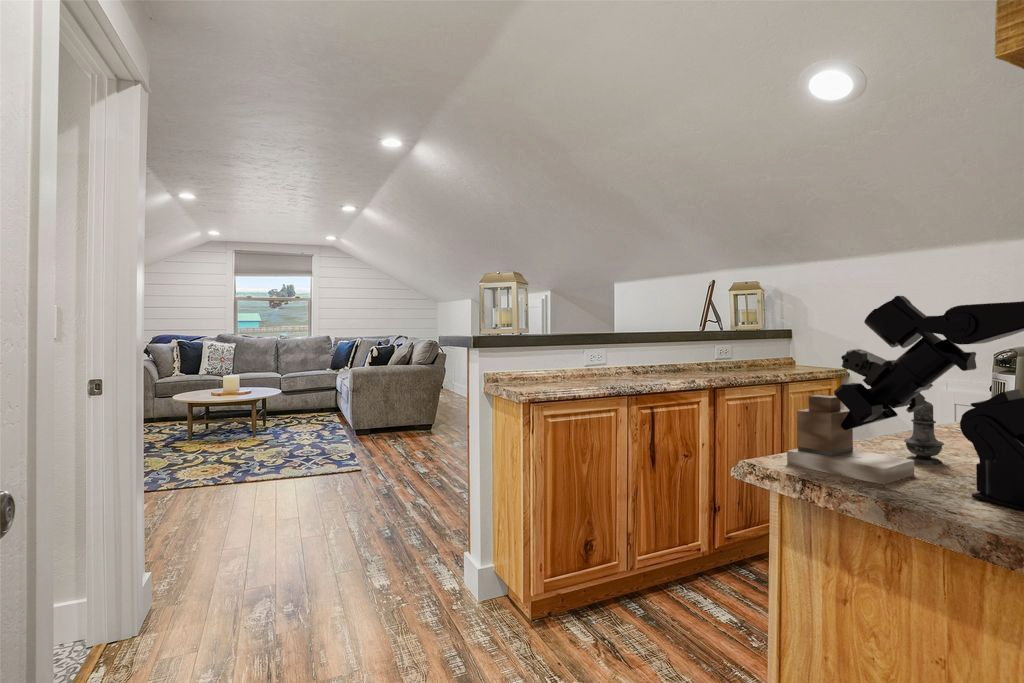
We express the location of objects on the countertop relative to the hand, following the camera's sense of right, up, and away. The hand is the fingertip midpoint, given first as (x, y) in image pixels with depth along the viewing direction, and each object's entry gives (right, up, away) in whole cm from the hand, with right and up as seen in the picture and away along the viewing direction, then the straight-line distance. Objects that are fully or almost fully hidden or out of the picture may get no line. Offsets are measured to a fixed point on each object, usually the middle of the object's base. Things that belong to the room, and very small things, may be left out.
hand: (843, 428), depth 93 cm
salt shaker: (+17, -7, +4) cm, 19 cm away
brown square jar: (-2, -5, +3) cm, 6 cm away
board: (0, -7, 0) cm, 7 cm away
